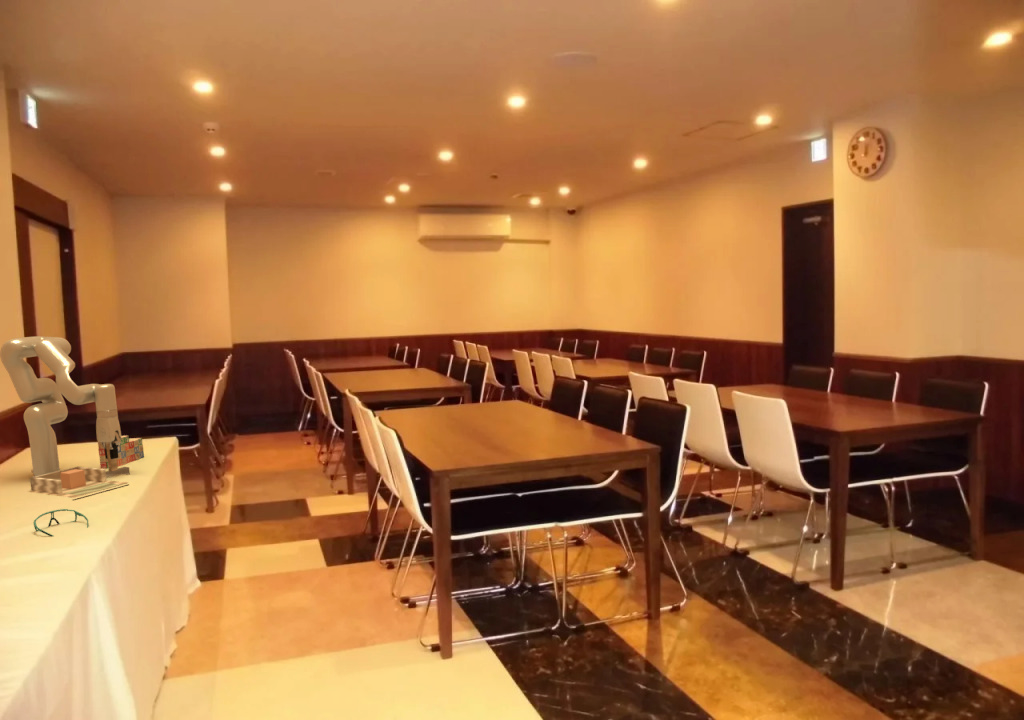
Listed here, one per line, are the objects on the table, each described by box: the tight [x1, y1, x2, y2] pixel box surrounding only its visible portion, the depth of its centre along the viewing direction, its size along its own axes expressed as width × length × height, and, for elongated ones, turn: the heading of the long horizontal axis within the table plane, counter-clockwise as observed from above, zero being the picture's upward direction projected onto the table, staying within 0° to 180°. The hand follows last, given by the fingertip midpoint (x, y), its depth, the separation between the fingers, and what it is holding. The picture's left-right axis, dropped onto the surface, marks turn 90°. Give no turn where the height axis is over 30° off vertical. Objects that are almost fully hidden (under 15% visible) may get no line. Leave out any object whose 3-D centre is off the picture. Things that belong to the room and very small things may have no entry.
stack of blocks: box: [97, 435, 145, 469], centre depth 340 cm, size 21×6×12 cm, turn 171°
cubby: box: [27, 466, 130, 501], centre depth 293 cm, size 30×22×6 cm
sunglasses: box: [33, 508, 89, 537], centre depth 241 cm, size 14×15×5 cm
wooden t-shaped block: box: [105, 440, 131, 479], centre depth 311 cm, size 3×12×16 cm, turn 151°
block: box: [60, 469, 86, 489], centre depth 295 cm, size 6×6×6 cm
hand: (112, 457), depth 311 cm, fingers closed on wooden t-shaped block, 2 cm apart
